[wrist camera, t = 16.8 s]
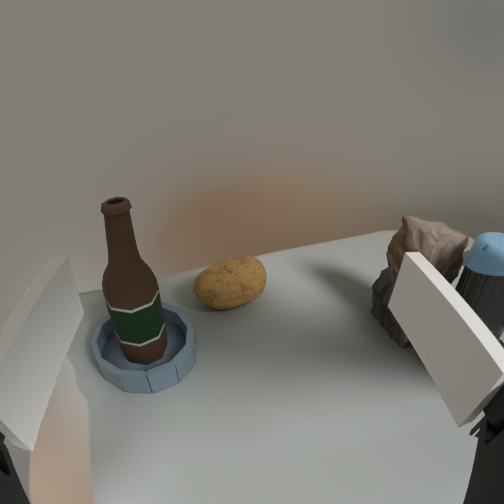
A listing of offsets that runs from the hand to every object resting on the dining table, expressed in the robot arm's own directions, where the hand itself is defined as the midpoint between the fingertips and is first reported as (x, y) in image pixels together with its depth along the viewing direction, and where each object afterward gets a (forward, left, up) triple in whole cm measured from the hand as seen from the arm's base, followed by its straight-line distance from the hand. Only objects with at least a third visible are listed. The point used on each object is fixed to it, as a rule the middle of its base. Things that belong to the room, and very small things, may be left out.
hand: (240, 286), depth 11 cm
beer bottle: (+13, -24, -29) cm, 40 cm away
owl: (-32, -27, -30) cm, 52 cm away
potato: (-1, -37, -30) cm, 48 cm away
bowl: (+13, -24, -30) cm, 40 cm away
